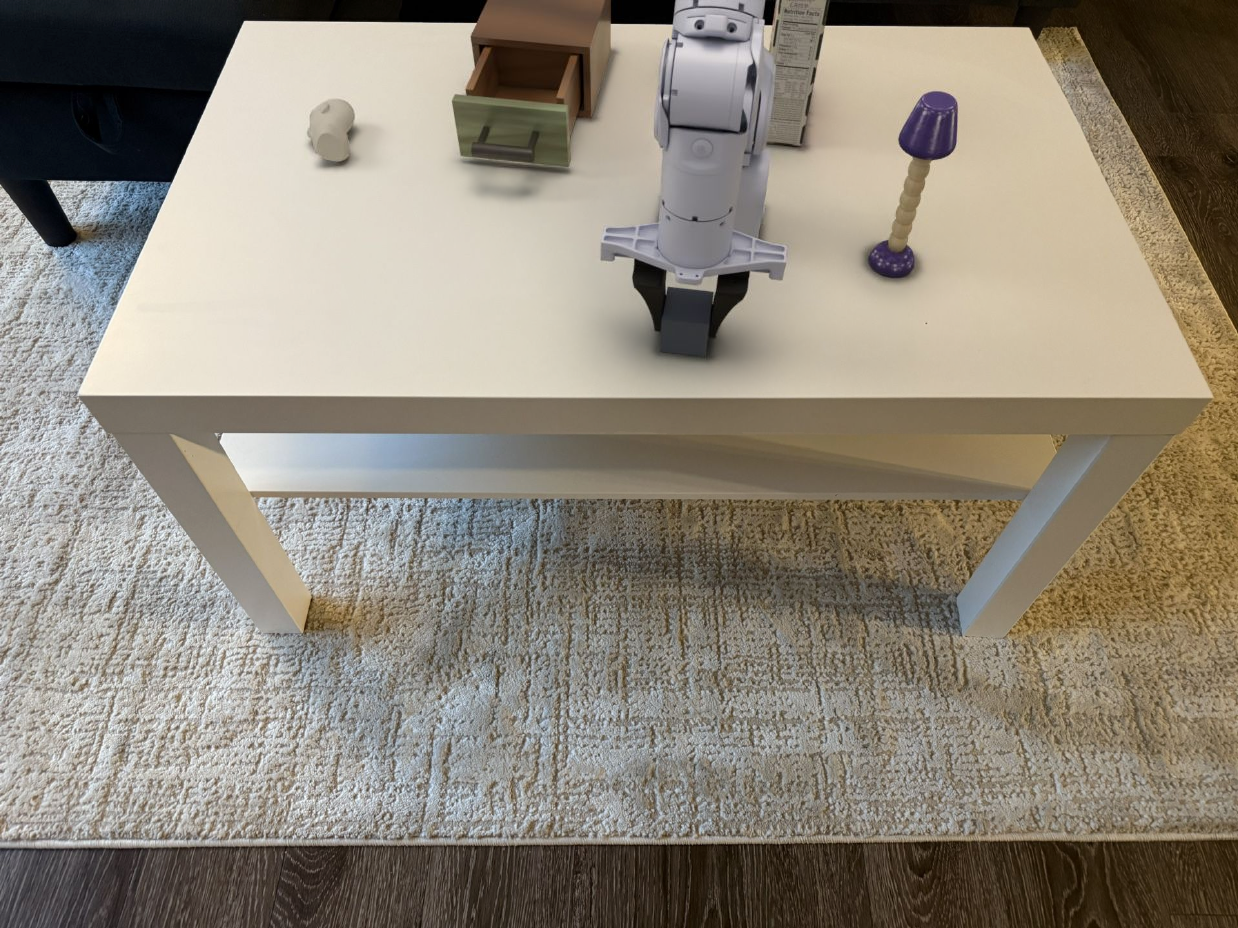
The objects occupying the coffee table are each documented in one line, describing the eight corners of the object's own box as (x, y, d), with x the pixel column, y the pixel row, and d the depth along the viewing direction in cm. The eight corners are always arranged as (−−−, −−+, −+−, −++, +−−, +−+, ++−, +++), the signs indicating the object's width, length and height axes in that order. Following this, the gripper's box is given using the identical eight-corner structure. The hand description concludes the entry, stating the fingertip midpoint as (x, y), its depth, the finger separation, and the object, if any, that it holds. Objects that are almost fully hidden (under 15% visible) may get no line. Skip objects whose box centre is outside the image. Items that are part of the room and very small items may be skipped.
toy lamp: (868, 279, 81) (920, 118, 67) (857, 245, 83) (904, 84, 70) (918, 277, 81) (980, 115, 67) (905, 243, 84) (962, 82, 70)
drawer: (560, 193, 86) (557, 137, 81) (449, 181, 87) (439, 125, 82) (589, 98, 96) (588, 43, 91) (489, 89, 97) (482, 33, 92)
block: (709, 324, 77) (713, 291, 74) (705, 357, 75) (709, 324, 72) (665, 319, 78) (667, 286, 74) (659, 352, 75) (661, 319, 72)
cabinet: (591, 118, 95) (590, 47, 89) (479, 107, 96) (470, 36, 90) (610, 52, 103) (610, -18, 96) (507, 43, 104) (500, -27, 97)
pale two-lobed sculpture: (324, 133, 95) (366, 119, 94) (312, 176, 90) (355, 163, 89) (302, 98, 92) (344, 83, 91) (287, 141, 87) (332, 127, 86)
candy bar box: (762, 86, 99) (785, -68, 86) (806, 90, 99) (836, -64, 85) (755, 144, 93) (779, -13, 79) (802, 149, 92) (834, -8, 79)
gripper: (592, 221, 62) (595, 350, 73) (795, 243, 61) (766, 371, 72) (608, 162, 66) (608, 292, 77) (798, 181, 65) (771, 311, 76)
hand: (685, 326), depth 75 cm, fingers closed on block, 4 cm apart
